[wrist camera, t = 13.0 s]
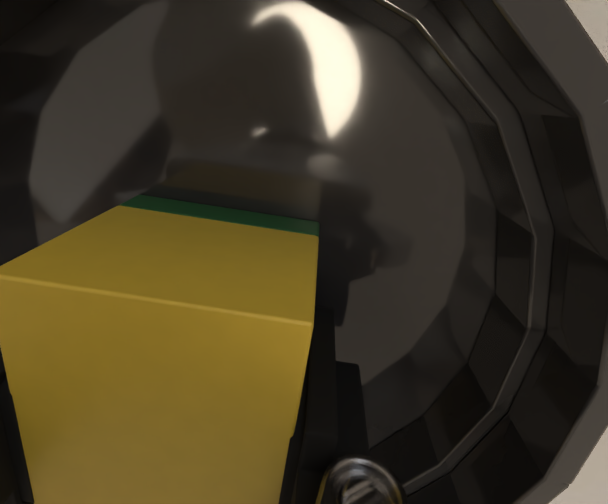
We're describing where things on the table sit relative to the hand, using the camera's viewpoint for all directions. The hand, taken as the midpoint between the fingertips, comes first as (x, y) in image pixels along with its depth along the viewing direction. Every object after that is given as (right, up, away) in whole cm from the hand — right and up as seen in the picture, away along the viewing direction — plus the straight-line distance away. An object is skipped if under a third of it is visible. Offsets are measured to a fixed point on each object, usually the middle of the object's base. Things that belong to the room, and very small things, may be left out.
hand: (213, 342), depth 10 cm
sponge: (0, 0, +1) cm, 1 cm away
